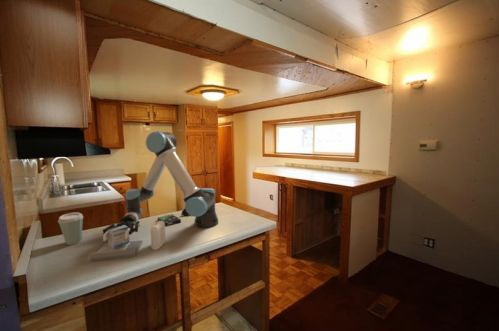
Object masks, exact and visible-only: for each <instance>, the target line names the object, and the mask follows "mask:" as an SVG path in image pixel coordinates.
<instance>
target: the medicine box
mask: <svg viewBox="0 0 499 331" xmlns="http://www.w3.org/2000/svg"><path fill="white" fill-rule="evenodd" d="M128 229H129V228H128V226H125V225H122V226H119V227H116V228H113V229H110V230H108V238H107V239H108V243H109V247H110V248H113V249H115V248H118V247H120V246H123V245H125V244H128V243H129V242H130V235H129V236H128V238H127V239H125V232H126V231H127V230H128Z"/></svg>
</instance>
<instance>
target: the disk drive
mask: <svg viewBox="0 0 499 331" xmlns="http://www.w3.org/2000/svg"><path fill="white" fill-rule="evenodd" d="M157 221H163V222H164V223H165V227H169V226H174V225H177V224H180V223H182V219H181V218H179V217H178V216H176V215H174V214H167V215H164V216H158V217H157Z"/></svg>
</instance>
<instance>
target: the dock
mask: <svg viewBox="0 0 499 331" xmlns="http://www.w3.org/2000/svg"><path fill="white" fill-rule="evenodd" d="M142 245H143V240H133V241H130V240H129V243H128V244H125V245H123V246H120V247H118V248H115V249H113V248H110V247H109V242H108V243H104V244H103V245H102V246H101V247H100V248H99V249H98V250H97V251H95V252H91V253H90V261H91V262H96V261H105V260H113V259H114V260H115V259H124V258H132V257H136V255H137V253H138V251H139V250H140V249H141V246H142Z"/></svg>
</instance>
